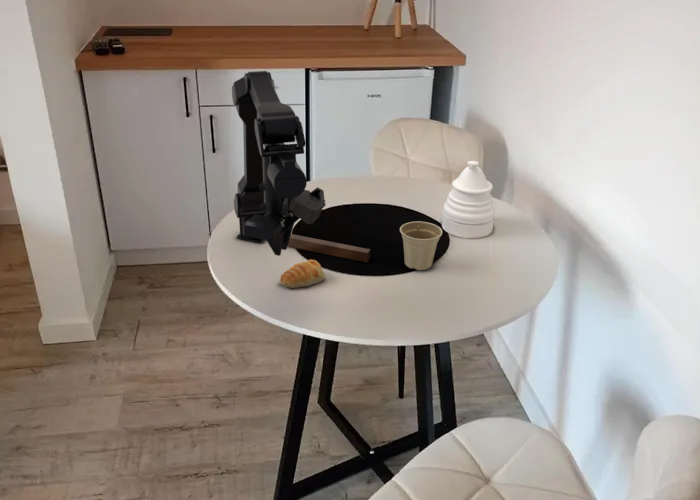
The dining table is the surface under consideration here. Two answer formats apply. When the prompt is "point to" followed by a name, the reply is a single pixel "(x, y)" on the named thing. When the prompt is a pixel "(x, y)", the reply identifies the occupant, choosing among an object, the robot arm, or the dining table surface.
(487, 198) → the honey pot
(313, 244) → the strip
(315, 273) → the pastry
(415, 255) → the flower pot
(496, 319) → the dining table surface
